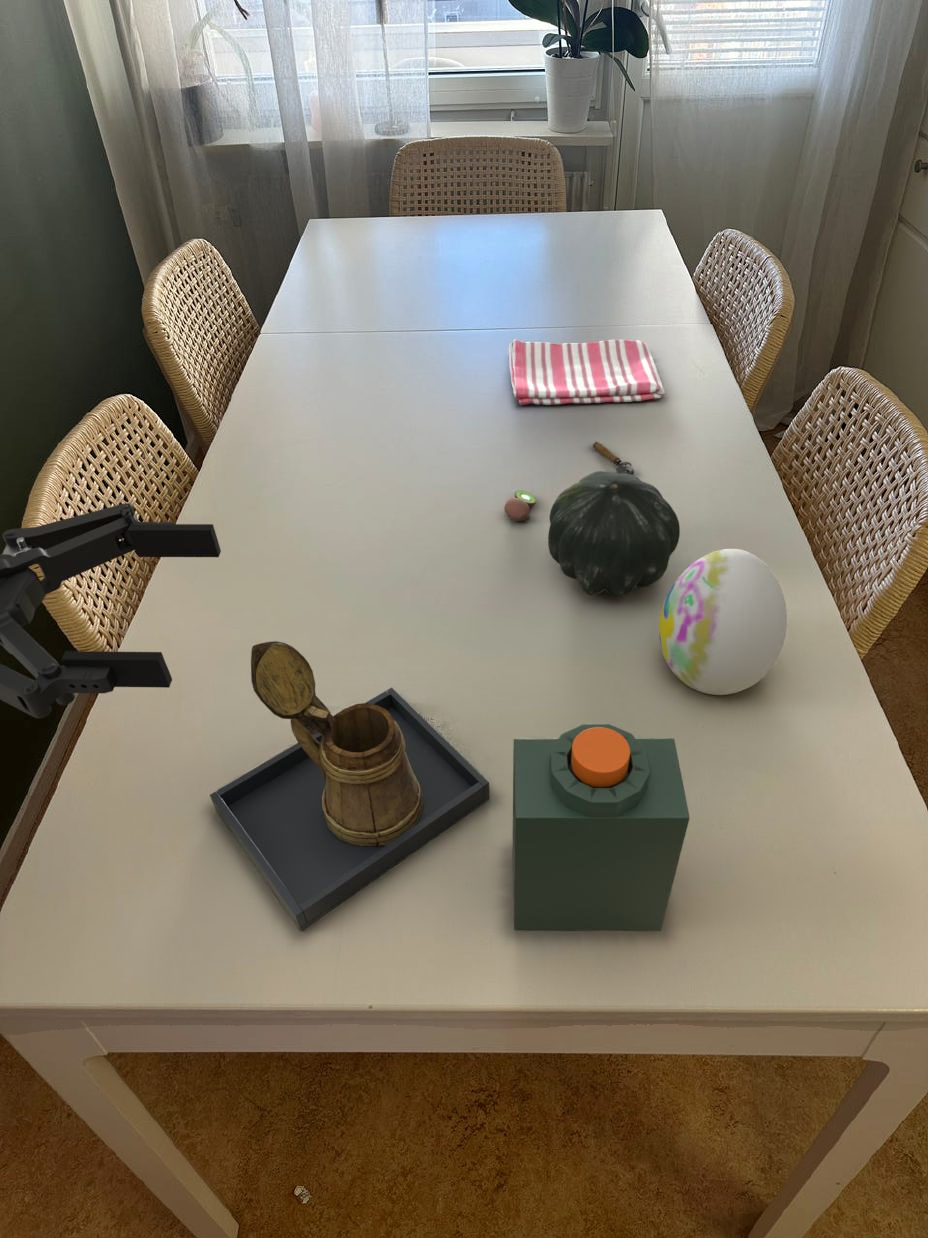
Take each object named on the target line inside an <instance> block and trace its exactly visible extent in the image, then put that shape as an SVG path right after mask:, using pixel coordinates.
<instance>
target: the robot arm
mask: <svg viewBox="0 0 928 1238" xmlns="http://www.w3.org/2000/svg"><path fill="white" fill-rule="evenodd" d="M214 526H215V525H214V524H213V523H176V522H172V521H139V519H138V516H137V514H136V512H135V510H134V505H133V504H131V503H130V502H125V503H120V504H117V505H113V506H110V507H109V506H108V507H106V508H101V509H98V510H94V511H90V512H86V513H83V514H80V515H75V516H72V517H68V518H65V519H60V520H57V521H53V522H48V523H45V524H41V525H37V526H34V527H33V526H32V527H19V528H10V529H7V530H5V531H3V533H2V535H1V537H2V539H3V540H4V543H5V548H4V549H3V551H2V554H0V645H1V646H2V648H4V649H5V650H6V652H7V653H8V654H10V656H11V655H13V657H14V658H15V659H16V660H17V661H19V663H20V664H21V665H22V666H23V667H24V668H25V669H26V670H27V671H28V672H29V673H30V674H31V675H32V676H33V677H34V679H32V678H30V677H29V676H26V675H24V674H23V673H20V672H18V671H16V670H14V669H12V668H10V667H8V666H6V665H4V664H2V663H0V701H2V702H3V703H6V704H8V705H10V706H12V707H14V708H15V709H17V710H19V711H22V712H23V713H25V714H27V715H29V716H31V717H33V718H35V719H44V718H46V717H47V716H49V715H50V714H51V713H52V710H53V709H52V706H51V705H52V704H53V703H54V702H55V701H56V703H57V704H58V705H59V706H66V705H69V704H71V703H72V702H73V701H74V700H75V699H76V695H75V694H108V693H112V692H113V691H114V689H115V688H170V687H171V684H172V682H173V678H172V675H171V672H170V670H169V667H168V665H167V663H166V662H167V661H166V660H165V657H164V655H163V652H162V651H99V650H98V651H96V650H95V651H92V650H90V651H87V650H86V651H85V650H84V651H83V650H76V651H75V650H65V651H64V654H63V655H62V658H61V662H62V663H63V665H60V664H59V662H58V661H57V660H56V659H55V658H54V657H53V656H52V655H51V654H50V653H49V652H48V651H47V650H45V648H43V646H41V644H40V643H38V641H36V640H35V638H33V637H32V636H31V634H29V633H28V631H26V630H25V629H24V628H23V627H24V626H25V625H30V624H31V622H32V620H33V618H34V617H35V613H36V612H35V611H36V610H37V608H38V607H39V606H40V605H41V604H42V603H43V601H44V600H45V598H46V596H47V595H48V594H51V593H53V592H55V591H57V590H59V589H60V588H61V585H62V583H63V582H64V581H67V580H69V579H72V578H74V577H76V576H78V575H80V574H83V573H85V572H87V571H90V570H93V569H95V568H97V567H99V566H101V565H104V564H106V563H108V562H110V561H112V560H115V559H117V558H120V557H122V556H124V555H126V554H129V553H132V552H133V551H135V552H136V555H137V557H138V558H220V555H221V552H222V550H221V546H220V542H219V540H218V539H219V538H218V537H217V533H216V530H215V527H214ZM34 565H38V566H39V568H40V572H41V573H42V575H43V578H42V579H40V577H39V576H38V573H37V572H36V571H34V570H33V569H32V568H30V567H32V566H34Z"/></svg>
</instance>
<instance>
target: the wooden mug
mask: <svg viewBox="0 0 928 1238" xmlns="http://www.w3.org/2000/svg"><path fill="white" fill-rule="evenodd" d="M250 653H251V654H250V677H251V679H250V681H251V685H252V688H253V692H254V693H255V695H256V696H257V698H258V699H259V700H260V702H262V704H263V705H264V706H265V707H266V708H267V709H268V710H269V711H270V712H271V713H272V714H273V715H274V716H277V717H278V718H280V719H283V720H284V719H285V720H290V727H291V731H292V734H293V736H294V738H295V740H296V741H297V743H299V744H300V745H301V747H302V748H303V749H304V751H305V752H306V753H307V754H308V755H309V757H310V758H311V759H312V760H313V761H314V762H315V763H316V765H317V766H318V767H319V768H320V770H321V771H322V773H323V776H324V778H325V780H326V786H325V788H324V791H323V795H322V808H323V812H324V816H325V820H326V823H327V826H328V828H329V829H330V830H331V831H332V832H333V833H334V834H335V835H336V836H337V837H338V838H339V839H340V840H342V841H346V842H349V843H351V844H354V845H358V846H385V845H388V844H389V843H391V842H392V841H394V840H395V839H397V838H398V837H399V836H401V835H402V834H404V833H405V832H407V831H408V830H410V829H411V828H413V827H414V826H415V825H416V824H417V823H418V820H419V818H420V816H421V814H422V810H423V804H424V800H423V793H422V790H421V787H420V785H419V783H418V781H417V779H416V777H415V775H414V774H413V771H412V768H411V766H410V763H409V760H408V758H407V755H406V752H405V741H404V737H403V734H402V732H401V730H400V728H399V727H398V725H397V723H396V722H395V721H394V719H393V718H392V716H391V715H390V713H389V712H388V711H387V710H386V709H384V708H382V707H380V706H377V705H374V704H369V703H366V702H362V703H356V704H353V705H351V706H348V707H345V708H343V709H341V710H340V711H338V712H337V713H335V714H334V715H333V714H332V713H331V711H330V710H329V708H328V707H327V705H326V704H325V703H324V702H323V701H322V700H320V698H319V697H318V696H317V694H316V680H315V676H314V672H313V671H314V670H313V669H312V667H311V665H310V662H308V660H307V659H306V657H304V656H303V654H302V653H300V651H298V650H297V649H296V648H295V647H294V646H292V645H291V644H288V643H286V642H284V641H283V642H282V641H277V640H275V641H274V640H273V641H266V642H265V641H264V642H260V643H257V644H254V645H252V647H251V652H250ZM317 733H321V734H323V735H322V738H321V741H320V742H318V741H317V740H316V739H315V738H314V737H313V735H312V734H314V735H316V734H317Z"/></svg>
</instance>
